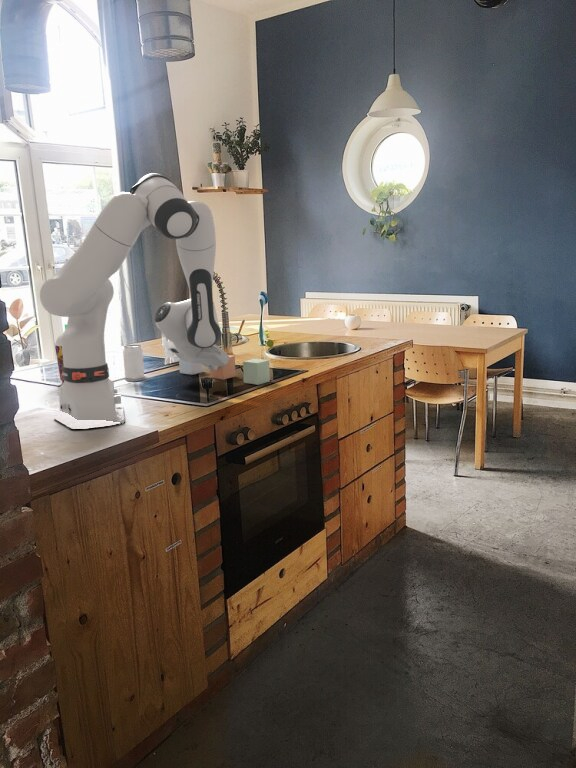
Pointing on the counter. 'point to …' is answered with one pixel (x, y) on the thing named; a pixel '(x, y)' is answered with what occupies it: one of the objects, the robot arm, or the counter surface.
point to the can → (133, 362)
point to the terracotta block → (225, 370)
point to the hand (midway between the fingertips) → (214, 368)
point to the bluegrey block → (190, 367)
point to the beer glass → (168, 351)
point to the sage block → (256, 371)
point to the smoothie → (60, 355)
